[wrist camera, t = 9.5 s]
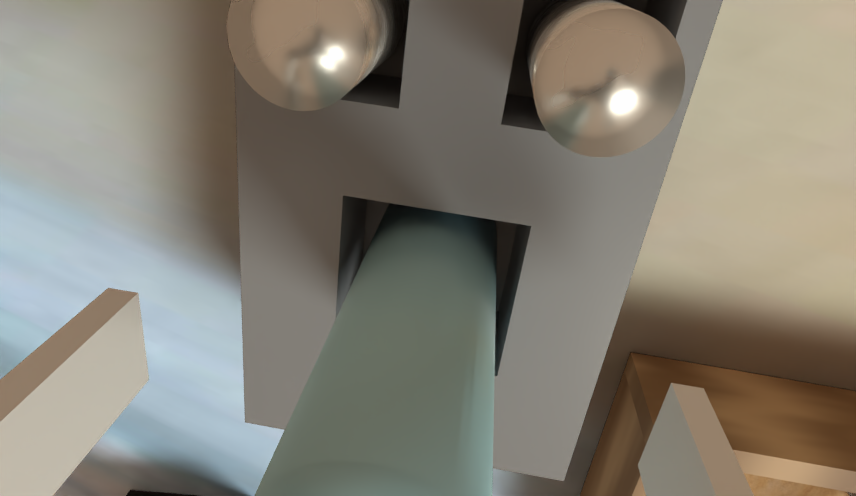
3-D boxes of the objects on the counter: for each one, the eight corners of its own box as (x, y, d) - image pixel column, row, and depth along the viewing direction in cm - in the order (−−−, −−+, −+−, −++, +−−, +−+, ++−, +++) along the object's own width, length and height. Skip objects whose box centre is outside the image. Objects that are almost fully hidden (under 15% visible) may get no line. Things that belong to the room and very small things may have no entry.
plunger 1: (413, -34, 17) (370, -28, 12) (402, 72, 18) (359, 120, 13) (312, -48, 17) (223, -49, 12) (309, 58, 18) (229, 100, 13)
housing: (679, -71, 18) (750, -81, 13) (552, 375, 27) (563, 481, 21) (306, -121, 19) (228, -151, 14) (296, 330, 27) (245, 422, 22)
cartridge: (506, 191, 21) (512, 487, 9) (486, 296, 23) (470, 645, 11) (385, 173, 21) (241, 439, 9) (376, 278, 23) (247, 603, 11)
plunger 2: (642, -1, 16) (706, 20, 11) (613, 104, 18) (658, 167, 13) (537, -16, 17) (551, -2, 11) (517, 89, 18) (521, 145, 13)
